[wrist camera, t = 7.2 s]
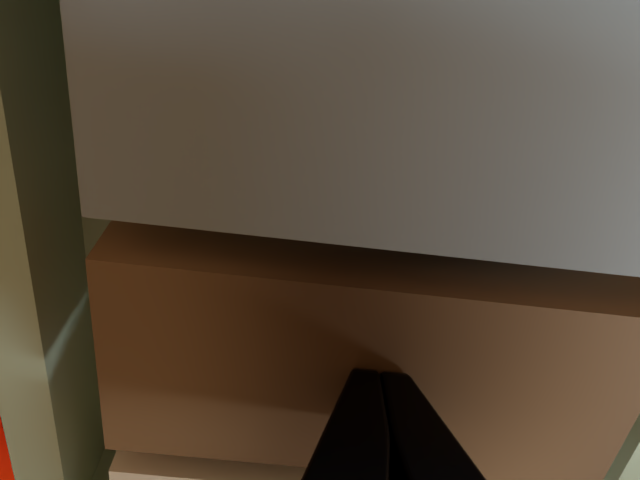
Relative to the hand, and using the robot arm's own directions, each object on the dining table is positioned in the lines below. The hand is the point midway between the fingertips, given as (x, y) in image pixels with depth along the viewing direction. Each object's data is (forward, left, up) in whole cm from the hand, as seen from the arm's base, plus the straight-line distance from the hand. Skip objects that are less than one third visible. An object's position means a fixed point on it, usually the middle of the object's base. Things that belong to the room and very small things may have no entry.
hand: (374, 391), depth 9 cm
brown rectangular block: (0, 0, -2) cm, 2 cm away
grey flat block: (0, -4, -2) cm, 5 cm away
